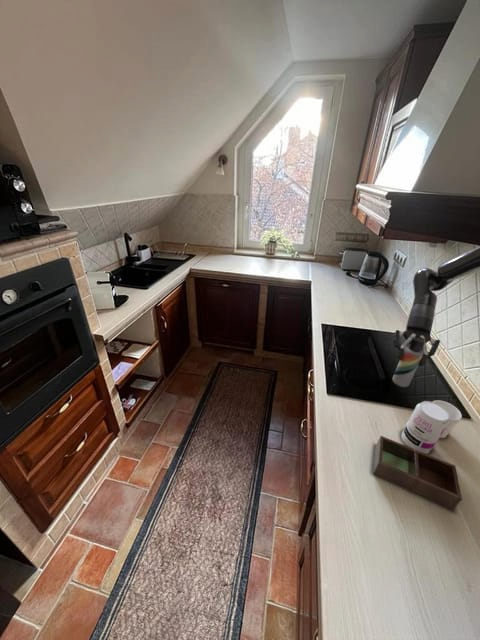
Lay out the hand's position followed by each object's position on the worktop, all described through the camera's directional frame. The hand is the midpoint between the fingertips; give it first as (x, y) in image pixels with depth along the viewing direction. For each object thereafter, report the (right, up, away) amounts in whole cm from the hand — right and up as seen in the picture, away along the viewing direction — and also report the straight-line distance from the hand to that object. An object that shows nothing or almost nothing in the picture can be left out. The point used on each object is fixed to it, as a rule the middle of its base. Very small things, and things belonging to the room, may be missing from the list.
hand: (410, 362), depth 90 cm
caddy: (-13, -29, -18) cm, 37 cm away
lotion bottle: (+1, -9, +7) cm, 11 cm away
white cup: (+4, -22, -5) cm, 23 cm away
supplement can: (-5, -24, -9) cm, 26 cm away
